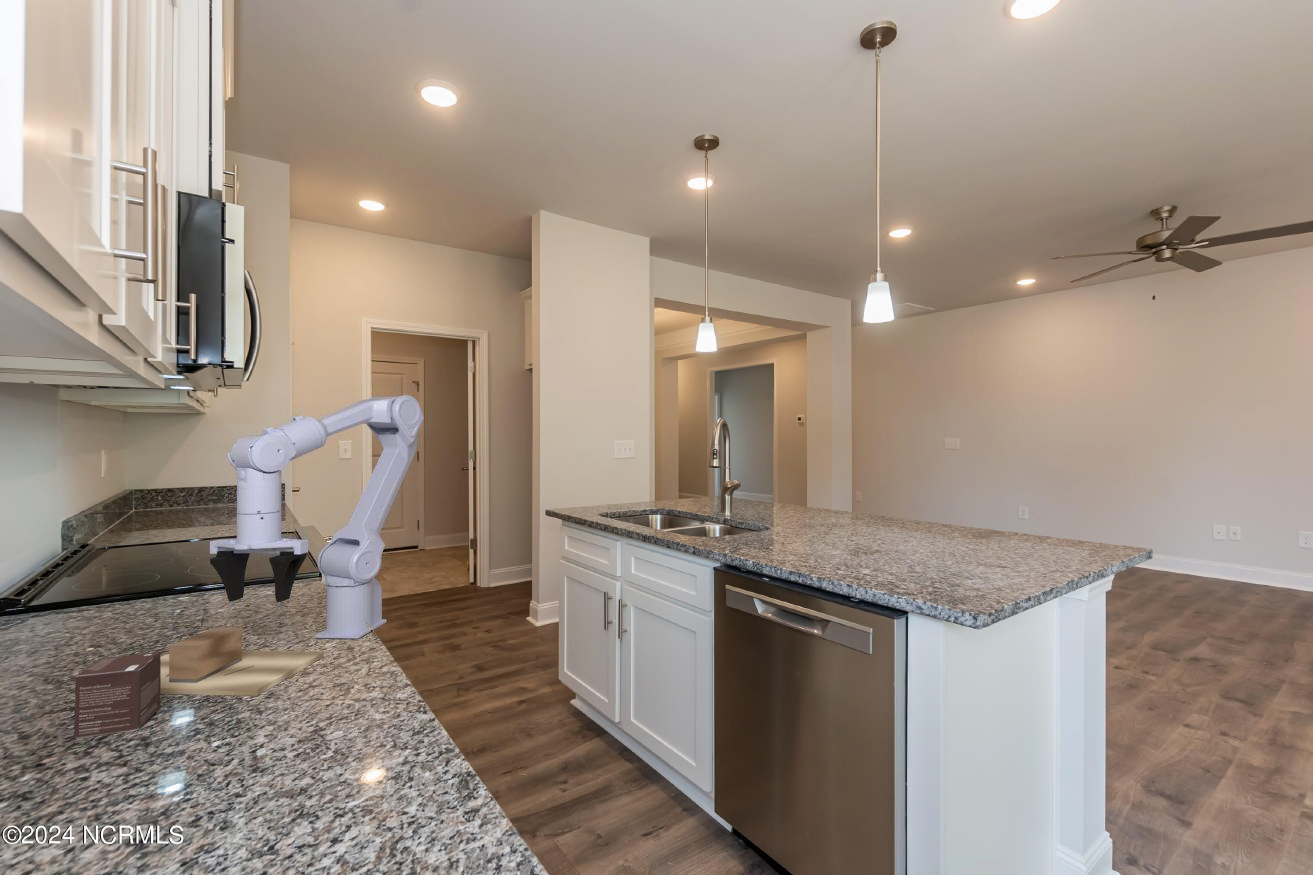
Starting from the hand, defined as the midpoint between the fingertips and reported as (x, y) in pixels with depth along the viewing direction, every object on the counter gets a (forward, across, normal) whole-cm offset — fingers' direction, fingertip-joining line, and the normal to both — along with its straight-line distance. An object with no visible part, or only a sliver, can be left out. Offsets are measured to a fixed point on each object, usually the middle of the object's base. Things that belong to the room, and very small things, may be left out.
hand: (259, 599), depth 89 cm
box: (+10, -2, -20) cm, 22 cm away
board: (+9, -3, -5) cm, 11 cm away
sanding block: (+9, -3, -6) cm, 11 cm away
